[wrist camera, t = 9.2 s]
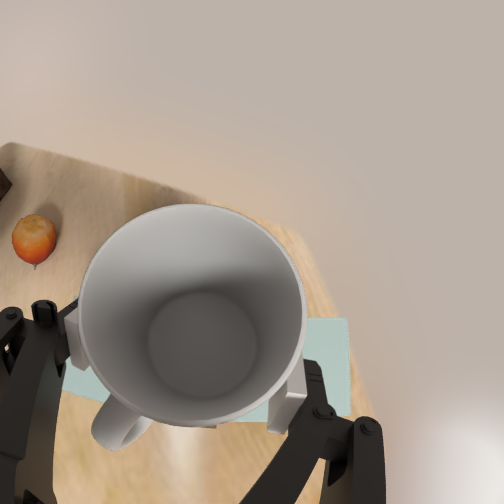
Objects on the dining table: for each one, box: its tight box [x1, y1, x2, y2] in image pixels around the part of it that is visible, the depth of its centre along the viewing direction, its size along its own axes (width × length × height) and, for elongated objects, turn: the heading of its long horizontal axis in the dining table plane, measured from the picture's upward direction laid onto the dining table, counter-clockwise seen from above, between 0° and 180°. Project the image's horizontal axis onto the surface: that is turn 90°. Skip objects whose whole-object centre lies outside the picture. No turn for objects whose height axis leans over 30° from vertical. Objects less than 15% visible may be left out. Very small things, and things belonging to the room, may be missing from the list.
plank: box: [62, 296, 350, 422], centre depth 23 cm, size 28×10×1 cm, turn 89°
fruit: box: [12, 214, 56, 270], centre depth 32 cm, size 8×8×8 cm
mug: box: [77, 203, 307, 451], centre depth 13 cm, size 12×8×11 cm
